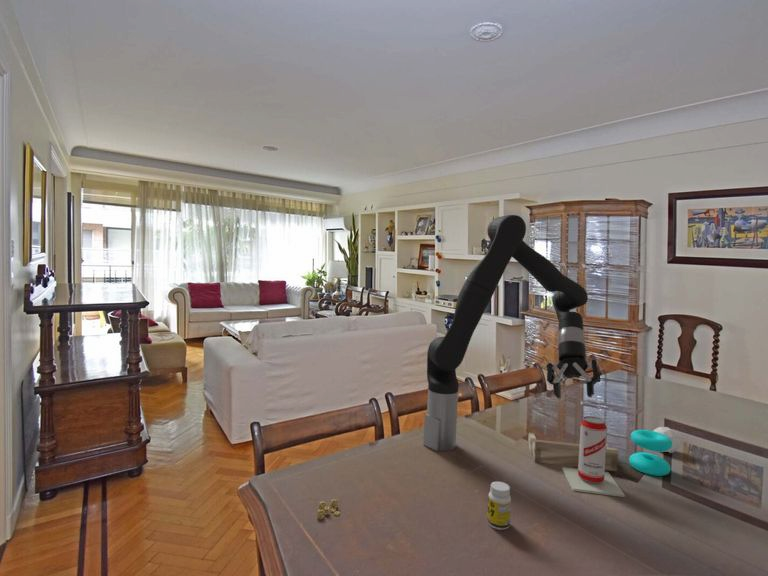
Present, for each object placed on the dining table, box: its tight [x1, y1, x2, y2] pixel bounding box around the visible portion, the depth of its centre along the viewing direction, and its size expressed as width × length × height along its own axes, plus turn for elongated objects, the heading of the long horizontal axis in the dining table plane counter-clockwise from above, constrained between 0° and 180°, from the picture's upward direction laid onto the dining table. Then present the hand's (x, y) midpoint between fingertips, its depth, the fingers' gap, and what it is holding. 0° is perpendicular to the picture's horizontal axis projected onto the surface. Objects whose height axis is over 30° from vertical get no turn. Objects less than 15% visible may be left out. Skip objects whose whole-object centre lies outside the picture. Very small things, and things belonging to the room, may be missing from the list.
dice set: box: [316, 498, 341, 520], centre depth 95 cm, size 5×5×2 cm
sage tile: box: [561, 466, 626, 498], centre depth 113 cm, size 12×12×1 cm
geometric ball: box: [652, 426, 681, 454], centre depth 135 cm, size 8×8×8 cm
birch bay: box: [527, 432, 619, 472], centre depth 128 cm, size 12×22×6 cm, turn 80°
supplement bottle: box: [486, 481, 512, 531], centre depth 93 cm, size 5×5×8 cm
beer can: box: [577, 415, 608, 484], centre depth 113 cm, size 6×6×16 cm
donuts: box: [628, 429, 672, 477], centre depth 122 cm, size 10×10×10 cm
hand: (573, 396), depth 123 cm, fingers open, 8 cm apart
